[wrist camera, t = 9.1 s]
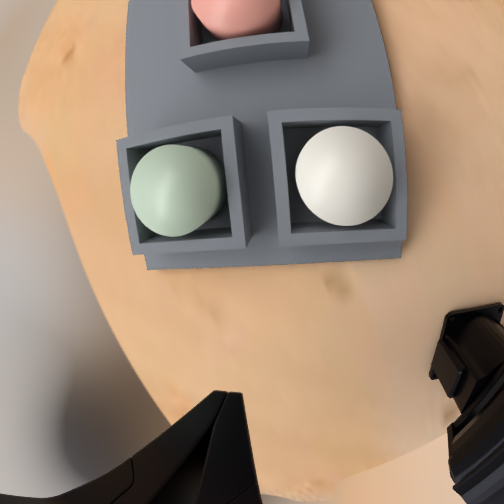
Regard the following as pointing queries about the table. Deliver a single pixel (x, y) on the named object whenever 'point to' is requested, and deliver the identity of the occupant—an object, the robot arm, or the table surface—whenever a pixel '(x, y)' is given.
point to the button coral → (238, 17)
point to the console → (260, 128)
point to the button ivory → (344, 175)
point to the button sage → (178, 189)
